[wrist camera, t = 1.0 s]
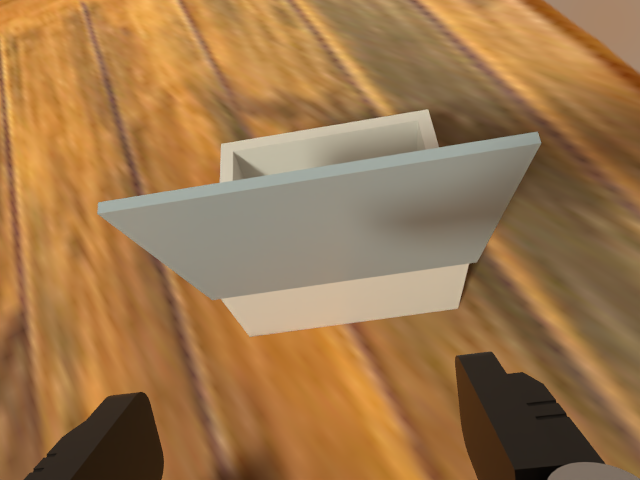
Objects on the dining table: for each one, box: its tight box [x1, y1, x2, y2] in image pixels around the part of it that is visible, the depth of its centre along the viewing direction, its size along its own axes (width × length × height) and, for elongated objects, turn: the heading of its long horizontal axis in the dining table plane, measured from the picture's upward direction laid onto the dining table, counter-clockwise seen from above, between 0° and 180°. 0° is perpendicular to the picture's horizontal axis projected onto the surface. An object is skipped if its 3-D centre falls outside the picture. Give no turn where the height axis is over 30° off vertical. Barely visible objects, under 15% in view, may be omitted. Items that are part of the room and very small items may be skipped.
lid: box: [97, 132, 541, 300], centre depth 30 cm, size 21×16×1 cm
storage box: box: [220, 109, 469, 337], centre depth 46 cm, size 20×16×10 cm
